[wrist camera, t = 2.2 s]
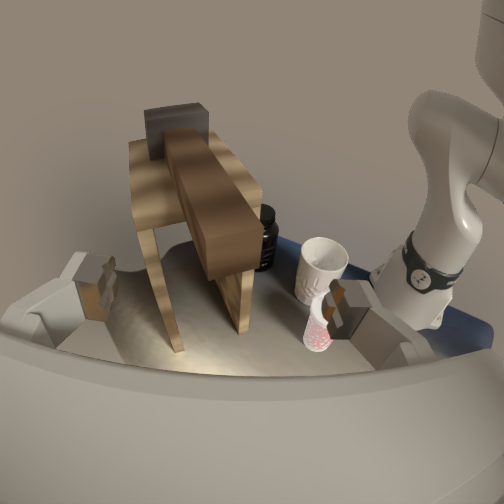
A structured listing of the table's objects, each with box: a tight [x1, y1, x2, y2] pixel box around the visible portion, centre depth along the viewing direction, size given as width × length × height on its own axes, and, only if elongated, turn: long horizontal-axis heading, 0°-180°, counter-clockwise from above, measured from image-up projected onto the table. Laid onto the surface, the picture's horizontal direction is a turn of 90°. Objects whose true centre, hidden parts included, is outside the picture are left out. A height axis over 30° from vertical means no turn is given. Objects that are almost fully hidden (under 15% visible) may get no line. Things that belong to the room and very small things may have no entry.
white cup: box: [294, 237, 349, 306], centre depth 47 cm, size 8×8×10 cm
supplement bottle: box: [254, 204, 279, 272], centre depth 52 cm, size 7×7×12 cm
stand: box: [129, 129, 263, 353], centre depth 39 cm, size 18×12×26 cm, turn 22°
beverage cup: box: [303, 292, 333, 352], centre depth 39 cm, size 6×6×14 cm
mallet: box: [144, 103, 264, 281], centre depth 24 cm, size 24×7×5 cm, turn 22°
